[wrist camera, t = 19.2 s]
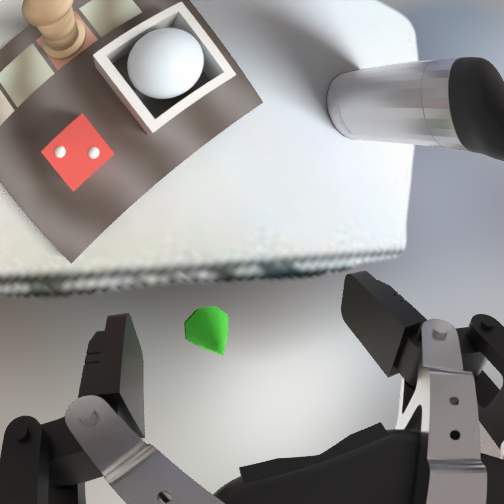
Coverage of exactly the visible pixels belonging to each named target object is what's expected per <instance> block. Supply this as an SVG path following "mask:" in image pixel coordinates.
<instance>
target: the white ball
mask: <svg viewBox="0 0 504 504" xmlns="http://www.w3.org/2000/svg"><path fill="white" fill-rule="evenodd" d="M203 65H204V56H203V51H202V48H201V46H200V44H199V43H198V41H197V40H196V39H195V38H194V37H193V36H192V35H191V34H189V33H188V32H186V31H184V30H181V29H177V28H161V29H157V30H154V31H151V32H149V33H147V34H146V35H144V36H143V37H142V38H140V39H139V40H138V41H137V42H136V44H135V45H134V46H133V48H132V50H131V52H130V54H129V57H128V62H127V70H128V75H129V78H130V80H131V82H132V84H133V85H134V87H135V88H136V89H137V90H139V91H140V92H141V93H143V94H144V95H147V96H149V97H152V98H157V99H168V98H173V97H176V96H179V95H181V94H183V93H184V92H186V91H188V90H189V89H190V88H191V87H192V86H193V85H194V84H195V83H196V82H197V80H198V79H199V77H200V75H201V73H202V69H203Z"/></svg>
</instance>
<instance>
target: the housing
mask: <svg viewBox="0 0 504 504" xmlns="http://www.w3.org/2000/svg"><path fill="white" fill-rule="evenodd" d="M169 27H171V28H177V29H181V30H184V31H186V32H188V33H189V34H191V35H192V36H193V37H194V38H195V39H196V40H197V41H198V43H199V44H200V46H201V48H202V51H203V56H204V65H203V69H202V70H203V71H204V72H205V74H206V75H207V77H208V78H209V79H210V81H209V82H208V83H206V84H205V85H203V86H202V87H200V88H199V89H197V90H196V91H194V92H193V93H191V94H190V95H188V96H187V97H185V98H184V99H183V100H181V101H180V102H178V103H177V104H175V105H174V106H173V107H171V108H170V109H169V110H167V111H166V112H164V113H163V114H162V115H160V116H159V117H158V118H156V119H154V117H153V116H152V115H151V113H150V112H149V111H148V110H147V108H146V107H145V106H144V104H143V103H142V102H141V100H140V99H139V98H138V97H137V95H136V94H135V93H134V91H133V90H132V89H131V87H130V86H129V85H128V84H127V82H126V81H125V80H124V78H123V77H122V76H121V74H120V73H119V72H118V71H117V69H116V68H115V67H114V65H113V63H114V62H116V61H117V60H118V59H120V58H121V57H123V56H124V55H126V54H127V53H129V52H130V51H131V50H132V48H133V46H134V45H135V44H136V42H137V41H138V40H139V39H140V38H142V37H143V36H144V35H146V34H147V33H149V32H151V31H154V30H157V29H161V28H169ZM93 58H94V63H95V67H96V69H97V70H98V71H99V72H100V74H101V75H102V76H103V78H104V79H105V80H106V82H107V83H108V84H109V86H110V87H111V88H112V89H113V91H114V92H115V93H116V95H117V96H118V97H119V98H120V100H121V101H122V102H123V104H124V105H125V106H126V108H127V109H128V110H129V111H130V113H131V114H132V115H133V117H134V118H135V119H136V120H137V122H138V123H139V124H140V126H141V127H142V128H143V129H144V131H145V132H146V133H147V135H150V134H152V133H154V132H155V131H156V130H158V129H159V128H160V127H161V126H163V125H164V124H165V123H167V122H168V121H169V120H171V119H172V118H173V117H175V116H176V115H177V114H179V113H180V112H182V111H183V110H184V109H186V108H187V107H189V106H190V105H191V104H193V103H194V102H196V101H197V100H199V99H200V98H202V97H203V96H204V95H206V94H207V93H209V92H210V91H212V90H213V89H215V88H217V87H218V86H220V85H221V84H223V83H224V82H226V81H227V80H229V79H231V78H232V77H234V76H235V75H236V73H235V72H234V70H233V69H232V68H231V66H230V65H229V63H228V62H227V61H226V59H225V58H224V56H223V55H222V54H221V52H220V51H219V50H218V48H217V47H216V45H215V44H214V43H213V41H212V40H211V39H210V37H209V36H208V35H207V33H206V32H205V31H204V29H203V28H202V27H201V26H200V24H199V23H198V22H197V20H196V19H195V18H194V16H193V15H192V14H191V13H190V11H189V10H188V9H187V8H186V6H185V5H184V4H183V3H182V1H181V2H179V3H177V4H175V5H173V6H171V7H169V8H167V9H166V10H164V11H162V12H160V13H158V14H156V15H154V16H153V17H151V18H149V19H147V20H146V21H144V22H142V23H141V24H139V25H137V26H136V27H134V28H132V29H131V30H129V31H127V32H126V33H124V34H123V35H121V36H120V37H118V38H117V39H115V40H113V41H112V42H111V43H109V44H108V45H106V46H105V47H103V48H102V49H100V50H99V51H98V52H96V53H95V54H93Z"/></svg>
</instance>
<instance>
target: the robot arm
mask: <svg viewBox="0 0 504 504" xmlns="http://www.w3.org/2000/svg"><path fill="white" fill-rule="evenodd" d="M327 107H328V112H329V116H330V118H331V120H332V123H333V124H334V126H335V127H336V129H337V130H338V131H339V132H340V133H341V134H343V135H344V136H345V137H347V138H350V139H354V140H369V141H382V142H394V143H406V144H416V145H425V146H434V147H442V148H449V149H456V150H463V151H469V152H470V151H471V152H476V153H481V154H485V155H487V156H490V157H492V158H495V159H498V160H502V161H504V81H503V79H502V77H501V75H500V74H499V72H498V71H497V69H496V68H495V67H494V66H493V65H492V64H491V63H490V62H489V61H487V60H485V59H483V58H477V57H466V58H449V59H435V60H426V61H417V62H408V63H400V64H393V65H386V66H380V67H374V68H368V69H362V70H357V71H352V72H347V73H343V74H340V75H339V76H337V77H336V78H335V79H334V80H333V81H332V83H331V85H330V87H329V90H328V95H327ZM341 313H342V317H343V320H344V321H345V323H346V324H347V326H348V327H349V328H350V329H351V331H352V332H353V333H354V334H355V336H356V337H357V338H358V339H359V340H360V342H361V343H362V345H363V346H364V347H365V348H366V350H367V351H368V352H369V353H370V355H371V356H372V357H373V359H374V360H375V361H376V362H377V364H378V365H379V366H380V368H381V369H382V370H383V371H384V373H385V374H386V375H387V377H390V376H393V375H395V374H398V373H400V374H401V376H402V377H403V379H402V381H401V391H400V402H399V412H398V420H397V424H396V428H395V429H393V430H385V428H384V426H383V425H382V423H378V424H375V425H373V426H371V427H368V428H366V429H364V430H361V431H359V432H356V433H354V434H351V435H349V436H348V437H346V438H345V439H343V440H342V441H340V442H339V443H337V444H336V445H335V446H333V447H331V448H330V449H328V450H327V451H325V452H323V453H322V454H320V455H316V456H306V457H295V458H277V459H273V460H269V461H265V462H261V463H257V464H253V465H248V466H244V467H240V468H239V469H240V474H241V476H240V477H238V478H236V479H234V480H232V481H230V482H229V483H227V484H225V485H224V486H223V487H221V488H220V489H219V490H218V491H216V492H215V493H214V494H213V495H212V494H211V493H210V492H208V491H207V490H206V489H204V488H203V487H202V486H201V485H199V484H198V483H197V482H195V481H194V480H193V479H192V478H190V477H189V476H188V475H187V474H185V473H184V472H183V471H182V470H180V469H179V468H178V467H177V466H176V465H175V464H173V463H172V462H171V461H170V460H169V459H168V458H166V457H165V456H164V455H163V454H162V453H161V452H160V451H158V450H157V449H156V448H155V447H154V446H153V445H151V444H146V443H145V442H144V441H143V440H142V439H141V438H145V431H144V430H145V429H144V400H143V397H144V396H143V355H142V350H141V346H140V343H139V340H138V338H137V334H136V331H135V329H134V325H133V322H132V319H131V316H130V315H129V313H125V314H117V315H110V316H108V317H107V322H106V327H105V331H98V332H96V333H95V335H94V336H93V337H92V339H91V340H90V342H89V344H88V349H87V355H86V358H85V365H84V368H83V373H82V379H81V384H80V389H79V395H78V399H76V400H75V401H73V402H72V403H71V404H70V405H69V407H68V409H67V410H66V413H65V416H64V417H62V418H60V419H58V420H55V421H51V422H48V423H45V424H42V425H41V424H40V423H39V422H38V421H37V420H36V419H35V418H33V417H30V416H21V417H18V418H16V419H14V420H13V421H12V422H11V423H10V424H9V425H8V426H7V428H6V431H5V434H4V439H3V445H2V451H1V457H0V504H86V499H85V482H86V481H89V480H92V479H96V478H99V477H102V476H104V478H105V480H106V481H107V482H108V483H109V485H110V486H111V487H112V488H113V489H114V490H115V491H116V493H117V494H118V495H119V496H120V497H121V498H122V499H123V500H124V501H125V502H126V504H504V327H503V326H502V325H501V324H500V323H499V322H498V321H497V320H496V319H494V318H493V317H491V316H488V315H484V314H477V315H475V316H473V318H472V319H471V322H470V325H469V327H466V328H457V329H455V328H454V326H452V325H451V324H450V323H448V322H446V321H444V320H440V319H430V320H427V319H425V317H423V316H422V315H421V314H420V313H419V312H418V311H417V310H416V309H415V308H414V307H413V306H412V305H411V304H409V303H408V302H407V301H406V300H404V298H403V297H402V296H401V295H398V293H397V292H396V291H395V290H394V289H393V288H392V287H391V286H389V285H387V284H385V283H383V282H381V281H379V280H376V279H375V278H374V277H373V276H371V275H370V274H369V273H368V272H367V271H360V272H356V273H351V274H347V275H346V277H345V282H344V290H343V297H342V305H341ZM487 360H489V361H490V362H491V364H493V366H494V367H495V368H496V369H497V370H498V371H499V372H500V373H501V375H502V376H503V386H502V388H501V390H499V389H498V387H497V386H496V385H495V384H494V383H493V382H492V380H491V379H490V378H489V377H488V376H487V375H486V374H485V373H484V371H483V370H482V369H483V367H484V365H485V364H486V361H487ZM479 421H480V422H481V424H482V425H483V427H484V428H485V429H486V431H487V432H488V433H489V435H490V436H491V438H492V439H493V440H494V442H495V443H496V445H497V446H498V447H499V449H500V450H501V456H500V457H499V458H497V457H493V456H489V455H486V454H482V453H480V431H479Z"/></svg>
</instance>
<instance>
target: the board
mask: <svg viewBox="0 0 504 504" xmlns="http://www.w3.org/2000/svg"><path fill="white" fill-rule="evenodd" d="M181 1H182V3H183V4H184V5H185V6H186V8H187V9H188V10H189V11H190V13H191V14H192V15H193V16H194V18H195V19H196V20H197V22H198V23H199V24H200V26H201V27H202V28H203V29H204V31H205V32H206V33H207V35H208V36H209V37H210V39H211V40H212V41H213V43H214V44H215V45H216V47H217V48H218V50H219V51H220V52H221V54H222V55H223V56H224V58H225V59H226V61H227V62H228V63H229V65H230V66H231V68H232V69H233V70H234V72H235V73H236V75H235V76H234V77H232V78H231V79H229V80H227V81H226V82H224V83H223V84H221V85H220V86H218V87H217V88H215V89H213V90H212V91H210V92H209V93H207V94H206V95H204V96H203V97H202V98H200V99H199V100H197V101H196V102H194V103H193V104H191V105H190V106H189V107H187V108H186V109H184V110H183V111H182V112H180V113H179V114H177V115H176V116H175V117H173V118H172V119H171V120H169V121H168V122H167V123H165V124H164V125H163V126H161V127H160V128H159V129H158V130H156V131H155V132H154V133H152V134H150V135H147V133H146V132H145V131H144V129H143V128H142V127H141V126H140V124H139V123H138V122H137V120H136V119H135V118H134V117H133V115H132V114H131V113H130V111H129V110H128V109H127V108H126V106H125V105H124V104H123V102H122V101H121V100H120V98H119V97H118V96H117V95H116V93H115V92H114V91H113V89H112V88H111V87H110V86H109V84H108V83H107V82H106V80H105V79H104V78H103V76H102V75H101V74H100V72H99V71H98V70H97V69H96V67H95V63H94V58H93V54H95V53H96V52H98V51H99V50H100V49H102V48H103V47H105V46H106V45H108V44H109V43H111V42H112V41H113V40H115V39H117V38H118V37H120V36H121V35H123V34H124V33H126V32H127V31H129V30H131V29H132V28H134V27H136V26H137V25H139V24H141V23H142V22H144V21H146V20H147V19H149V18H151V17H153V16H154V15H156V14H158V13H160V12H162V11H164V10H166V9H167V8H169V7H171V6H173V5H175V4H177V3H179V2H181ZM72 8H73V12H74V16H75V18H77V19H79V20H80V21H81V22H82V23H83V25H84V27H85V32H86V38H85V42H84V44H83V46H82V47H81V49H80V50H79V51H78V52H77V53H76V54H74V55H73V56H71V57H69V58H66V59H62V60H56V59H53V58H51V57H49V56H48V55H47V54H46V52H45V51H44V49H43V46H42V39H43V36H42V34H41V32H40V31H39V29H38V28H37V26H33V25H30V26H28V27H27V28H26V29H25V30H24V31H22V32H21V33H20V34H19V35H18V36H16V37H15V38H14V39H13V40H12V41H11V42H10V43H9V44H7V45H6V46H5V47H4V48H3V49H2V50H1V51H0V182H1V183H2V185H3V186H4V187H5V189H6V190H7V191H8V192H9V194H10V195H11V196H12V197H13V199H14V200H15V201H16V202H17V204H18V205H19V206H20V207H21V208H22V210H23V211H24V212H25V213H26V214H27V216H28V217H29V218H30V219H31V220H32V221H33V223H34V224H35V225H36V226H37V227H38V228H39V229H40V230H41V232H42V233H43V234H44V235H45V236H46V237H47V238H48V239H49V240H50V242H51V243H52V244H53V245H54V246H55V247H56V248H57V249H58V250H59V251H60V252H61V253H62V254H63V255H64V256H65V257H66V259H67V260H68V261H69V262H70V263H72V262H73V261H74V260H75V259H76V258H77V257H78V256H79V255H80V254H81V253H82V252H83V251H84V250H85V249H86V248H87V247H88V246H89V245H90V244H91V243H92V242H93V241H94V240H95V239H96V238H97V237H98V236H99V235H100V234H101V233H102V232H103V231H104V230H105V229H106V228H107V227H108V226H110V225H111V224H112V223H113V222H114V221H115V220H116V219H117V218H118V217H119V216H120V215H121V214H122V213H123V212H125V211H126V210H127V209H128V208H129V207H130V206H131V205H132V204H133V203H135V202H136V201H137V200H138V199H139V198H140V197H141V196H142V195H144V194H145V193H146V192H147V191H148V190H149V189H150V188H152V187H153V186H154V185H155V184H156V183H157V182H159V181H160V180H161V179H162V178H163V177H165V176H166V175H167V174H168V173H169V172H171V171H172V170H173V169H174V168H175V167H177V166H178V165H179V164H180V163H182V162H183V161H184V160H185V159H187V158H188V157H189V156H190V155H192V154H193V153H194V152H195V151H197V150H198V149H199V148H201V147H202V146H203V145H205V144H206V143H207V142H208V141H210V140H211V139H212V138H214V137H215V136H216V135H218V134H219V133H220V132H222V131H223V130H225V129H226V128H227V127H229V126H230V125H231V124H233V123H234V122H236V121H237V120H238V119H240V118H241V117H243V116H244V115H245V114H247V113H248V112H250V111H251V110H253V109H254V108H256V107H257V106H259V105H260V104H261V103H263V102H262V100H261V98H260V97H259V95H258V94H257V92H256V91H255V89H254V88H253V86H252V85H251V83H250V82H249V81H248V79H247V78H246V76H245V75H244V73H243V72H242V70H241V69H240V67H239V66H238V65H237V63H236V62H235V60H234V59H233V58H232V56H231V55H230V53H229V52H228V51H227V49H226V48H225V46H224V45H223V44H222V42H221V41H220V40H219V38H218V37H217V36H216V34H215V33H214V32H213V30H212V29H211V28H210V26H209V25H208V24H207V22H206V21H205V20H204V18H203V17H202V16H201V15H200V13H199V12H198V11H197V9H196V8H195V7H194V6H193V4H192V3H191V2H190V1H189V0H74V1H73V4H72ZM169 28H171V27H169ZM130 52H131V51H130ZM130 52H129V53H127V54H126V55H124V56H123V57H121V58H120V59H118V60H117V61H116V62H114V63H113V65H114V67H115V68H116V69H117V71H118V72H119V73H120V74H121V76H122V77H123V78H124V80H125V81H126V82H127V84H128V85H129V86H130V87H131V89H132V90H133V91H134V93H135V94H136V95H137V97H138V98H139V99H140V100H141V102H142V103H143V104H144V106H145V107H146V108H147V110H148V111H149V112H150V113H151V115H152V116H153V117H154V119H156V118H158V117H159V116H160V115H162V114H163V113H164V112H166V111H167V110H169V109H170V108H171V107H173V106H174V105H175V104H177V103H178V102H180V101H181V100H183V99H184V98H185V97H187V96H188V95H190V94H191V93H193V92H194V91H196V90H197V89H199V88H200V87H202V86H203V85H205V84H206V83H208V82H209V81H210V79H209V78H208V77H207V75H206V74H205V72H204V71H203V70H202V73H201V75H200V77H199V79H198V80H197V82H196V83H195V84H194V85H193V86H192V87H191V88H190V89H189V90H188V91H186V92H184V93H183V94H181V95H179V96H176V97H173V98H168V99H157V98H152V97H149V96H147V95H144V94H143V93H141V92H140V91H139V90H137V89H136V88H135V87H134V85H133V84H132V82H131V80H130V78H129V75H128V70H127V62H128V57H129V54H130ZM82 113H83V114H84V115H85V116H86V118H87V119H88V120H89V121H90V123H91V124H92V125H93V126H94V128H95V129H96V130H97V132H98V133H99V134H100V135H101V137H102V138H103V139H104V140H105V142H106V143H107V144H108V145H109V147H110V148H111V149H112V150H113V152H114V153H115V154H114V155H113V156H112V157H111V158H109V159H108V160H107V161H106V162H105V163H104V164H103V165H102V166H101V167H99V168H98V169H97V170H96V171H95V172H94V173H93V174H92V175H91V176H90V177H89V178H88V179H86V180H85V181H84V182H83V183H82V184H81V185H80V186H79V187H78V188H77V189H76V190H75V191H74V192H73V191H72V189H71V188H70V187H69V186H68V185H67V183H66V182H65V181H64V180H63V179H62V177H61V176H60V175H59V174H58V173H57V171H56V170H55V169H54V168H53V166H52V165H51V164H50V163H49V161H48V160H47V159H46V157H45V156H44V155H43V154H42V152H41V151H42V150H43V149H44V148H45V147H46V146H47V145H48V144H49V143H50V142H51V141H52V140H53V139H54V138H55V137H56V136H57V135H59V134H60V133H61V132H62V131H63V130H64V129H65V128H66V127H67V126H68V125H69V124H70V123H72V122H73V121H74V120H75V119H76V118H77V117H78V116H80V115H81V114H82Z"/></svg>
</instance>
